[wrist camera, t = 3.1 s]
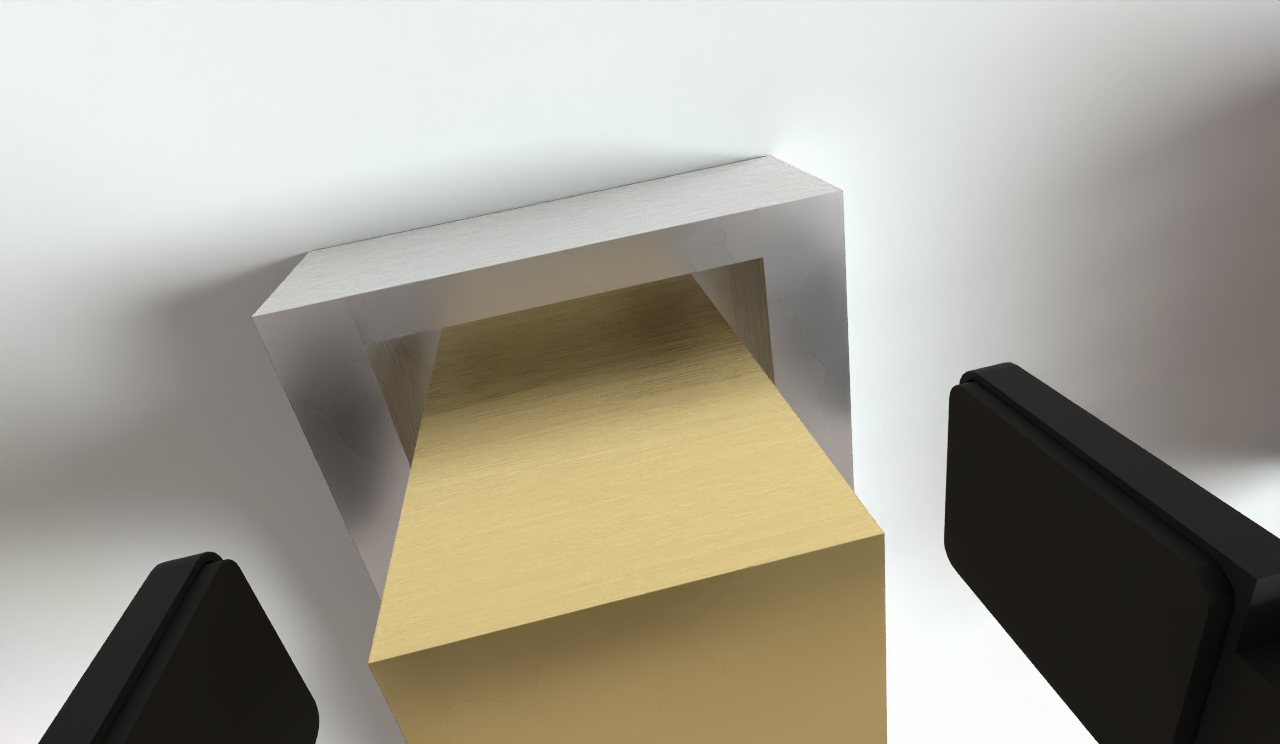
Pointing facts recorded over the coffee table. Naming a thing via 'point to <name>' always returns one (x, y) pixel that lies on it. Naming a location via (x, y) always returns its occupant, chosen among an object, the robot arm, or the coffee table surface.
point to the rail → (544, 274)
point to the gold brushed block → (626, 542)
